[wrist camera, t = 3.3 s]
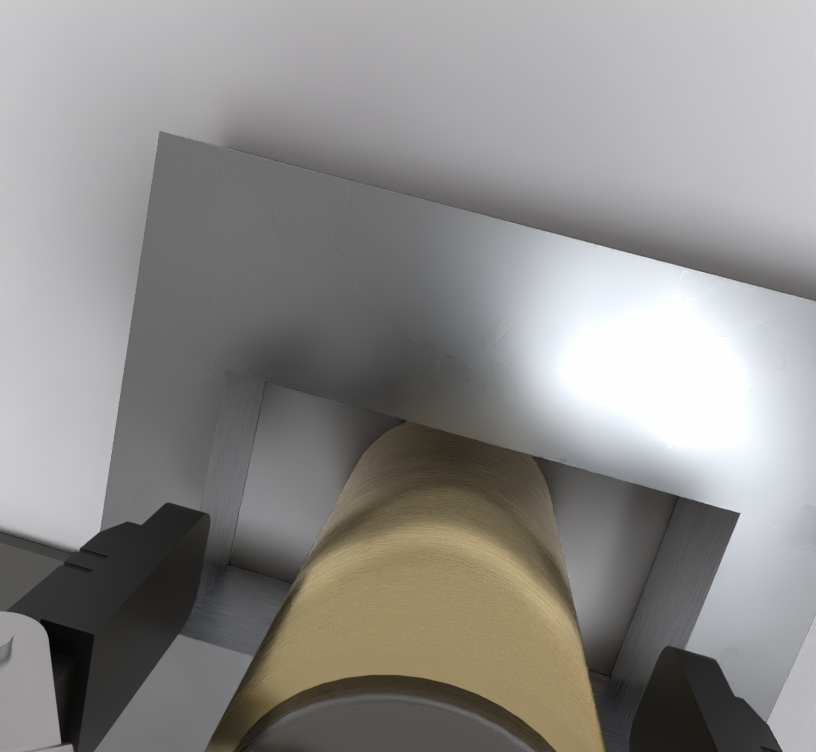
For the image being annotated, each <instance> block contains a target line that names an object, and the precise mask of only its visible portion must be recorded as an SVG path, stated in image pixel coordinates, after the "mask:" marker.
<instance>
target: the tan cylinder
mask: <svg viewBox="0 0 816 752" xmlns="http://www.w3.org/2000/svg"><path fill="white" fill-rule="evenodd" d="M204 752H606V748H605V743H604V739H603V734H602V730H601V725H600V720H599V716H598V711H597V707H596V702H595V698H594V693H593V689H592V684H591V679H590V675H589V670H588V666H587V661H586V657H585V652H584V647H583V643H582V638H581V634H580V629H579V625H578V620H577V615H576V611H575V606H574V602H573V597H572V593H571V588H570V584H569V579H568V574H567V570H566V565H565V561H564V556H563V552H562V547H561V542H560V538H559V533H558V529H557V524H556V520H555V515H554V511H553V506H552V501H551V497H550V492H549V489H548V486H547V483H546V480H545V478H544V476H543V474H542V472H541V470H540V468H539V466H538V465H537V463H536V462H535V460H534V459H533V457H532V456H531V455H529V454H525V453H522V452H518V451H515V450H511V449H507V448H504V447H500V446H497V445H493V444H489V443H486V442H482V441H479V440H475V439H471V438H468V437H464V436H461V435H457V434H453V433H450V432H446V431H443V430H439V429H435V428H432V427H428V426H425V425H421V424H417V423H414V422H410V421H407V422H404V423H402V424H400V425H398V426H396V427H394V428H392V429H390V430H389V431H387V432H386V433H384V434H383V435H381V436H380V437H379V438H378V439H377V440H375V441H374V442H373V443H372V444H371V445H370V446H369V448H368V449H367V450H366V451H365V452H364V453H363V455H362V456H361V458H360V459H359V461H358V462H357V464H356V466H355V468H354V470H353V471H352V473H351V475H350V477H349V479H348V481H347V483H346V485H345V487H344V488H343V490H342V492H341V494H340V496H339V498H338V500H337V502H336V503H335V505H334V507H333V509H332V511H331V513H330V515H329V517H328V519H327V520H326V522H325V524H324V526H323V528H322V530H321V532H320V534H319V535H318V537H317V539H316V541H315V543H314V545H313V547H312V549H311V550H310V552H309V554H308V556H307V558H306V560H305V562H304V564H303V566H302V567H301V569H300V571H299V573H298V575H297V577H296V579H295V581H294V582H293V584H292V586H291V588H290V590H289V592H288V594H287V596H286V598H285V599H284V601H283V603H282V605H281V607H280V609H279V611H278V613H277V614H276V616H275V618H274V620H273V622H272V624H271V626H270V628H269V629H268V631H267V633H266V635H265V637H264V639H263V641H262V643H261V645H260V646H259V648H258V650H257V652H256V654H255V656H254V658H253V660H252V661H251V663H250V665H249V667H248V669H247V671H246V673H245V675H244V676H243V678H242V680H241V682H240V684H239V686H238V688H237V690H236V692H235V693H234V695H233V697H232V699H231V701H230V703H229V705H228V707H227V708H226V710H225V712H224V714H223V716H222V718H221V720H220V722H219V724H218V725H217V727H216V729H215V731H214V733H213V735H212V737H211V739H210V741H209V743H208V745H207V747H206V749H205V751H204Z"/></svg>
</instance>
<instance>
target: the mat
mask: <svg viewBox="0 0 816 752" xmlns="http://www.w3.org/2000/svg"><path fill="white" fill-rule="evenodd" d="M72 555H73V554H71V553H67V552H64V551H61V550H57V549H54V548H50V547H47V546H44V545H40V544H37V543H34V542H30V541H27V540H23V539H20V538H17V537H13V536H10V535H7V534H3V533H0V611H1V612H5V611H6V610H8V609H9V608H10V607H11V606H12V605H14V604H15V603H16V602H17V601H18V600H20V599H21V598H22V597H23V596H24V595H25V594H27V593H28V592H29V591H30V590H31V589H33V588H34V587H35V586H36V585H37V584H39V583H40V582H41V581H42V580H43V579H44V578H46V577H47V576H48V575H49V574H50V573H52V572H53V571H54V570H55V569H56V568H58V567H59V566H60V565H61V566H63V564H64V562H65V561H66V560H67V559H68V558H69V557H71V556H72Z"/></svg>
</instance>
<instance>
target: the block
mask: <svg viewBox="0 0 816 752" xmlns="http://www.w3.org/2000/svg"><path fill="white" fill-rule="evenodd" d="M265 382H270V383H273V384H277V385H281V386H284V387H288V388H291V389H295V390H299V391H302V392H306V393H309V394H313V395H317V396H320V397H324V398H327V399H331V400H335V401H338V402H342V403H345V404H349V405H353V406H356V407H360V408H363V409H367V410H371V411H374V412H378V413H381V414H385V415H389V416H392V417H396V418H399V419H403V420H407V421H410V422H414V423H417V424H421V425H425V426H428V427H432V428H435V429H439V430H443V431H446V432H450V433H453V434H457V435H461V436H464V437H468V438H471V439H475V440H479V441H482V442H486V443H489V444H493V445H497V446H500V447H504V448H507V449H511V450H515V451H518V452H522V453H525V454H529V455H533V456H536V457H540V458H543V459H547V460H551V461H554V462H558V463H561V464H565V465H569V466H572V467H576V468H579V469H583V470H587V471H590V472H594V473H597V474H601V475H605V476H608V477H612V478H615V479H619V480H623V481H626V482H630V483H633V484H637V485H641V486H644V487H648V488H651V489H655V490H659V491H662V492H666V493H669V494H673V495H677V496H679V499H678V501H677V504H676V506H675V509H674V512H673V514H672V517H671V520H670V522H669V525H668V527H667V530H666V533H665V535H664V538H663V540H662V543H661V546H660V548H659V551H658V554H657V556H656V559H655V561H654V564H653V567H652V569H651V572H650V574H649V577H648V580H647V582H646V585H645V588H644V590H643V593H642V595H641V598H640V601H639V603H638V606H637V608H636V611H635V614H634V616H633V619H632V622H631V624H630V627H629V629H628V632H627V635H626V637H625V640H624V642H623V645H622V648H621V650H620V653H619V656H618V658H617V661H616V663H615V666H614V669H613V671H612V674H611V676H610V677H609V676H606V675H602V674H599V673H596V672H592V671H589V675H590V679H591V684H592V689H593V693H594V698H595V702H596V707H597V711H598V716H599V720H600V725H601V730H602V734H603V739H604V743H605V748H606V752H629V739H630V731H631V726H632V722H633V719H634V716H635V714H636V711H637V709H638V707H639V704H640V702H641V699H642V697H643V694H644V692H645V689H646V687H647V684H648V682H649V679H650V677H651V674H652V672H653V669H654V667H655V664H656V662H657V659H658V657H659V655H660V653H661V652H662V650H663V649H664V648H665V647H667V646H672V647H676V648H680V649H683V650H687V651H690V652H694V653H697V654H701V655H704V656H708V657H711V658H714V659H715V660H716V661H717V662H718V664H719V666H720V668H721V670H722V672H723V674H724V676H725V678H726V680H727V682H728V684H729V686H730V688H731V690H732V692H733V694H734V696H736V697H740V698H743V699H744V700H745V701H746V702H747V703H748V704H749V705H750V706H751V707H752V708H753V710H754V711H755V712H756V713H757V714H758V715H759V716H760V717H761V718H762V719H763V720H764V721H765V722H767V720H768V718H769V716H770V714H771V711H772V709H773V707H774V705H775V703H776V701H777V698H778V696H779V694H780V692H781V690H782V688H783V685H784V683H785V681H786V679H787V677H788V674H789V672H790V670H791V668H792V666H793V664H794V661H795V659H796V657H797V655H798V653H799V651H800V648H801V646H802V644H803V642H804V640H805V638H806V635H807V633H808V631H809V629H810V627H811V624H812V622H813V620H814V618H815V616H816V301H814V300H810V299H806V298H802V297H799V296H795V295H791V294H787V293H783V292H779V291H775V290H772V289H768V288H764V287H760V286H756V285H752V284H748V283H745V282H741V281H737V280H733V279H729V278H725V277H722V276H718V275H714V274H710V273H706V272H702V271H698V270H695V269H691V268H687V267H683V266H679V265H675V264H671V263H668V262H664V261H660V260H656V259H652V258H648V257H644V256H641V255H637V254H633V253H629V252H625V251H621V250H617V249H614V248H610V247H606V246H602V245H598V244H594V243H591V242H587V241H583V240H579V239H575V238H571V237H567V236H564V235H560V234H556V233H552V232H548V231H544V230H540V229H537V228H533V227H529V226H525V225H521V224H517V223H513V222H510V221H506V220H502V219H498V218H494V217H490V216H487V215H483V214H479V213H475V212H471V211H467V210H463V209H460V208H456V207H452V206H448V205H444V204H440V203H436V202H433V201H429V200H425V199H421V198H417V197H413V196H409V195H406V194H402V193H398V192H394V191H390V190H386V189H382V188H379V187H375V186H371V185H367V184H363V183H359V182H356V181H352V180H348V179H344V178H340V177H336V176H332V175H329V174H325V173H321V172H317V171H313V170H309V169H305V168H302V167H298V166H294V165H290V164H286V163H282V162H278V161H275V160H271V159H267V158H263V157H259V156H255V155H251V154H248V153H244V152H240V151H236V150H232V149H228V148H225V147H221V146H217V145H213V144H209V143H205V142H201V141H197V140H193V139H188V138H184V137H180V136H176V135H172V134H168V133H164V132H160V133H159V140H158V147H157V153H156V160H155V167H154V174H153V180H152V187H151V194H150V200H149V207H148V214H147V220H146V227H145V234H144V241H143V247H142V254H141V261H140V267H139V274H138V281H137V288H136V294H135V301H134V308H133V314H132V321H131V328H130V335H129V341H128V348H127V355H126V361H125V368H124V375H123V382H122V388H121V395H120V402H119V408H118V415H117V422H116V428H115V435H114V442H113V449H112V455H111V462H110V469H109V475H108V482H107V489H106V496H105V502H104V509H103V516H102V522H101V529H100V532H101V531H103V530H106V529H109V528H111V527H114V526H117V525H119V524H122V523H124V522H127V521H129V522H132V523H136V524H139V525H142V524H143V523H144V522H146V521H147V520H148V519H149V518H150V517H151V516H152V515H153V514H154V513H155V512H156V511H157V510H159V509H160V508H161V507H162V506H163V505H164V504H165V503H173V504H176V505H180V506H183V507H187V508H190V509H194V510H198V511H201V512H205V513H208V514H209V515H210V530H209V535H208V540H207V546H206V551H205V556H204V561H203V567H202V572H201V577H200V583H199V588H198V593H197V597H196V600H195V603H194V606H193V609H192V611H191V614H190V616H189V618H188V620H187V622H186V624H185V625H184V627H183V629H182V630H181V632H180V633H179V634H178V636H177V637H176V638H175V640H174V641H173V643H172V644H171V645H170V647H169V648H168V650H167V651H166V652H165V654H164V655H163V657H162V658H161V659H160V661H159V662H158V663H157V665H156V666H155V668H154V669H153V670H152V672H151V673H150V675H149V676H148V677H147V679H146V680H145V682H144V683H143V684H142V686H141V687H140V688H139V690H138V691H137V693H136V694H135V695H134V697H133V698H132V700H131V701H130V702H129V704H128V705H127V707H126V708H125V709H124V711H123V712H122V714H121V715H120V716H119V718H118V719H117V720H116V722H115V723H114V725H113V726H112V727H111V729H110V730H109V732H108V733H107V734H106V736H105V737H104V739H103V740H102V741H101V743H100V744H99V745H98V747H97V748H96V750H95V751H94V752H204V751H205V749H206V747H207V745H208V743H209V741H210V739H211V737H212V735H213V733H214V731H215V729H216V727H217V725H218V724H219V722H220V720H221V718H222V716H223V714H224V712H225V710H226V708H227V707H228V705H229V703H230V701H231V699H232V697H233V695H234V693H235V692H236V690H237V688H238V686H239V684H240V682H241V680H242V678H243V676H244V675H245V673H246V671H247V669H248V667H249V665H250V663H251V661H252V660H253V658H254V656H255V654H256V652H257V650H258V648H259V646H260V645H261V643H262V641H263V639H264V637H265V635H266V633H267V631H268V629H269V628H270V626H271V624H272V622H273V620H274V618H275V616H276V614H277V613H278V611H279V609H280V607H281V605H282V603H283V601H284V599H285V598H286V596H287V594H288V592H289V590H290V588H291V586H292V583H289V582H285V581H282V580H279V579H275V578H272V577H268V576H265V575H262V574H258V573H255V572H251V571H248V570H245V569H241V568H238V567H234V566H231V565H228V563H229V558H230V553H231V549H232V544H233V539H234V534H235V529H236V524H237V519H238V514H239V509H240V505H241V500H242V495H243V490H244V485H245V480H246V475H247V470H248V465H249V461H250V456H251V451H252V446H253V441H254V436H255V431H256V426H257V421H258V417H259V412H260V407H261V402H262V397H263V392H264V387H265Z"/></svg>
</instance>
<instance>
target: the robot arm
mask: <svg viewBox="0 0 816 752" xmlns="http://www.w3.org/2000/svg"><path fill="white" fill-rule="evenodd" d="M209 530H210V515H209V514H208V513H205V512H201V511H198V510H194V509H190V508H187V507H183V506H180V505H176V504H173V503H165V504H164V505H163V506H162V507H161V508H160V509H159V510H157V511H156V512H155V513H154V514H153V515H152V516H151V517H150V518H149V519H148V520H147V521H146V522H144V523H143V524H142V525H139V524H136V523H132V522H129V521H127V522H124V523H122V524H119V525H117V526H114V527H111V528H109V529H106V530H103V531H101V532H99V533H98V534H97V535H95V536H94V537H93V538H92V539H91V540H90V541H88V542H87V543H86V544H85V545H84V546H82V547H81V548H80V551H79V552H77V551H76V552H75V553H74V554H73V555H72V556H71V557H69V558H68V559H67V560H66V561H65V562H64V564H63V566H61V565H60V566H59V567H58V568H56V569H55V570H54V571H53V572H52V573H50V574H49V575H48V576H47V577H46V578H44V579H43V580H42V581H41V582H40V583H39V584H37V585H36V586H35V587H34V588H33V589H31V590H30V591H29V592H28V593H27V594H25V595H24V596H23V597H22V598H21V599H20V600H18V601H17V602H16V603H15V604H14V605H12V606H11V607H10V608H9V609H8V610H6V611H5V612H1V611H0V752H94V751H95V750H96V748H97V747H98V745H99V744H100V743H101V741H102V740H103V739H104V737H105V736H106V734H107V733H108V732H109V730H110V729H111V727H112V726H113V725H114V723H115V722H116V720H117V719H118V718H119V716H120V715H121V714H122V712H123V711H124V709H125V708H126V707H127V705H128V704H129V702H130V701H131V700H132V698H133V697H134V695H135V694H136V693H137V691H138V690H139V688H140V687H141V686H142V684H143V683H144V682H145V680H146V679H147V677H148V676H149V675H150V673H151V672H152V670H153V669H154V668H155V666H156V665H157V663H158V662H159V661H160V659H161V658H162V657H163V655H164V654H165V652H166V651H167V650H168V648H169V647H170V645H171V644H172V643H173V641H174V640H175V638H176V637H177V636H178V634H179V633H180V632H181V630H182V629H183V627H184V625H185V624H186V622H187V620H188V618H189V616H190V614H191V611H192V609H193V606H194V603H195V600H196V597H197V593H198V588H199V583H200V577H201V572H202V567H203V561H204V556H205V551H206V546H207V540H208V535H209ZM629 752H782V750H781V748H780V746H779V744H778V742H777V740H776V739H775V737H774V735H773V733H772V731H771V729H770V727H769V726H768V724H767V723H766V722H765V721H764V720H763V719H762V718H761V717H760V716H759V715H758V714H757V713H756V712H755V711H754V710H753V708H752V707H751V706H750V705H749V704H748V703H747V702H746V701H745V700H744V699H743V698H740V697H736V696H734V694H733V692H732V690H731V688H730V686H729V684H728V682H727V680H726V678H725V676H724V674H723V672H722V670H721V668H720V666H719V664H718V662H717V661H716V660H715V659H714V658H711V657H708V656H704V655H701V654H697V653H694V652H690V651H687V650H683V649H680V648H676V647H672V646H667V647H665V648H664V649H663V650H662V652H661V653H660V655H659V657H658V659H657V662H656V664H655V667H654V669H653V672H652V674H651V677H650V679H649V682H648V684H647V687H646V689H645V692H644V694H643V697H642V699H641V702H640V704H639V707H638V709H637V711H636V714H635V716H634V719H633V722H632V726H631V731H630V739H629Z"/></svg>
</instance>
